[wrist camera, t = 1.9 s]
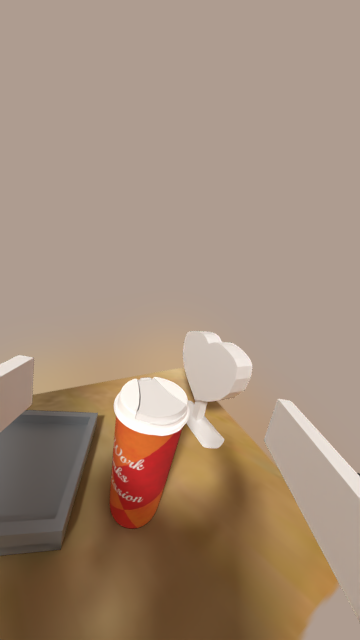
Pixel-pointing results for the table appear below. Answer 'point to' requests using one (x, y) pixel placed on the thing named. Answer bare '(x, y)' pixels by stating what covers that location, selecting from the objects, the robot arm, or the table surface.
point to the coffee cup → (144, 446)
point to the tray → (41, 477)
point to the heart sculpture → (212, 379)
